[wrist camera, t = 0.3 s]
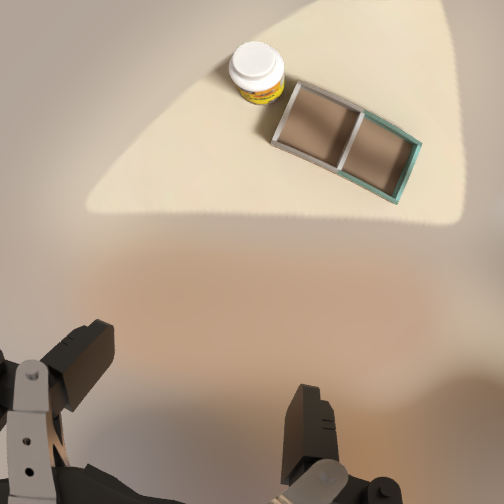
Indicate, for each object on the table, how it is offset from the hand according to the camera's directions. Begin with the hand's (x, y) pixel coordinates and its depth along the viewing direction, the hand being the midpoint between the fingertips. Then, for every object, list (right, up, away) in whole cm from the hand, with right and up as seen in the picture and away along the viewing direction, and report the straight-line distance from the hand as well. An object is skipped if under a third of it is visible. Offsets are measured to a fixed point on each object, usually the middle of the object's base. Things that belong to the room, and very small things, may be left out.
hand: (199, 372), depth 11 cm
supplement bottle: (+3, +25, +21) cm, 33 cm away
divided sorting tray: (+14, +18, +22) cm, 32 cm away
